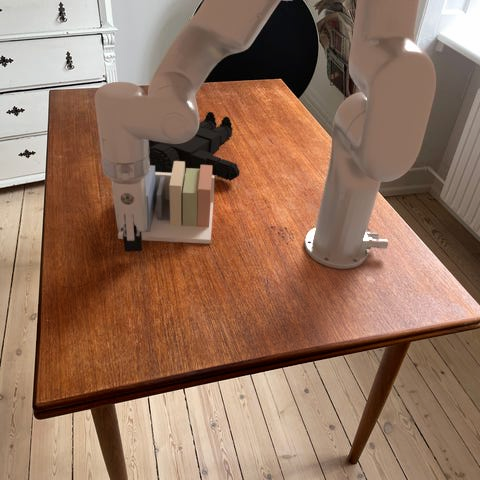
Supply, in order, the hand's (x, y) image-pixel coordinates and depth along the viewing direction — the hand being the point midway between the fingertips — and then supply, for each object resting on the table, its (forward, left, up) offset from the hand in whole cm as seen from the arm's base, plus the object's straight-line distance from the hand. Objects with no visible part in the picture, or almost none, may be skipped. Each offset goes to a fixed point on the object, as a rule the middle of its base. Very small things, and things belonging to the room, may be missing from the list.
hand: (133, 248), depth 91 cm
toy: (-7, -39, -3) cm, 40 cm away
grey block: (0, -12, -1) cm, 12 cm away
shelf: (-5, -12, -2) cm, 14 cm away
